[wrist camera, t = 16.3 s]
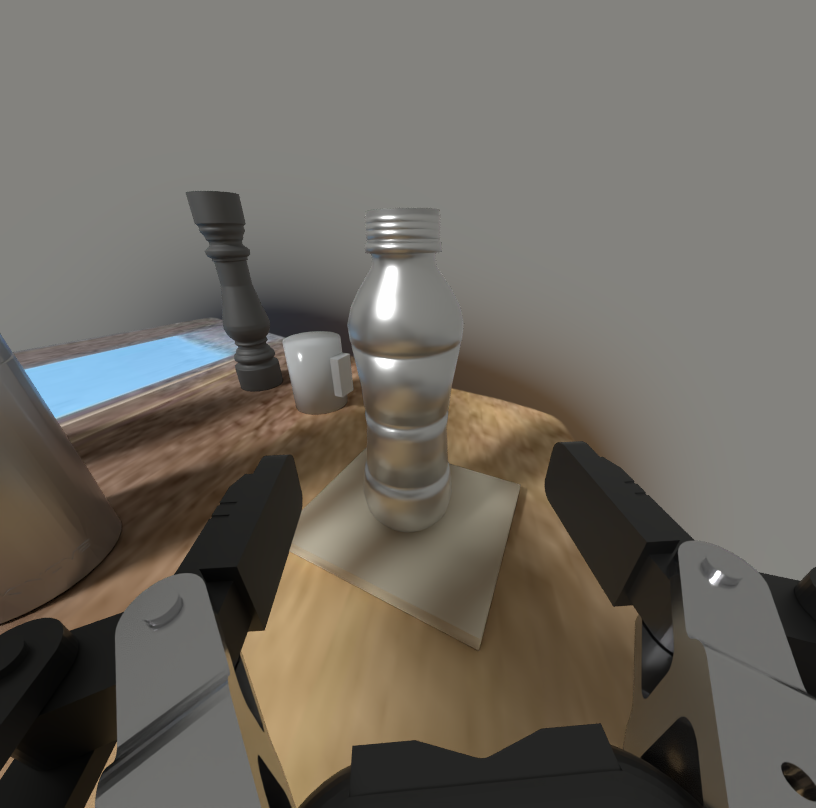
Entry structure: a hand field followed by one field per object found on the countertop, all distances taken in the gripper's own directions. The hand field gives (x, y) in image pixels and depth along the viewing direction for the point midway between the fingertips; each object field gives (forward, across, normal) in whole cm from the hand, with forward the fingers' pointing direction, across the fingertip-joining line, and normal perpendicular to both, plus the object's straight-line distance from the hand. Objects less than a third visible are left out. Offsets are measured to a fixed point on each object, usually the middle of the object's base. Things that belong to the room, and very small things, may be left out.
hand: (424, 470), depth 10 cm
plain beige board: (+10, 0, +14) cm, 17 cm away
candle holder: (+39, +22, +14) cm, 47 cm away
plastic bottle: (+10, 0, +13) cm, 16 cm away
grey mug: (+32, +11, +14) cm, 36 cm away
